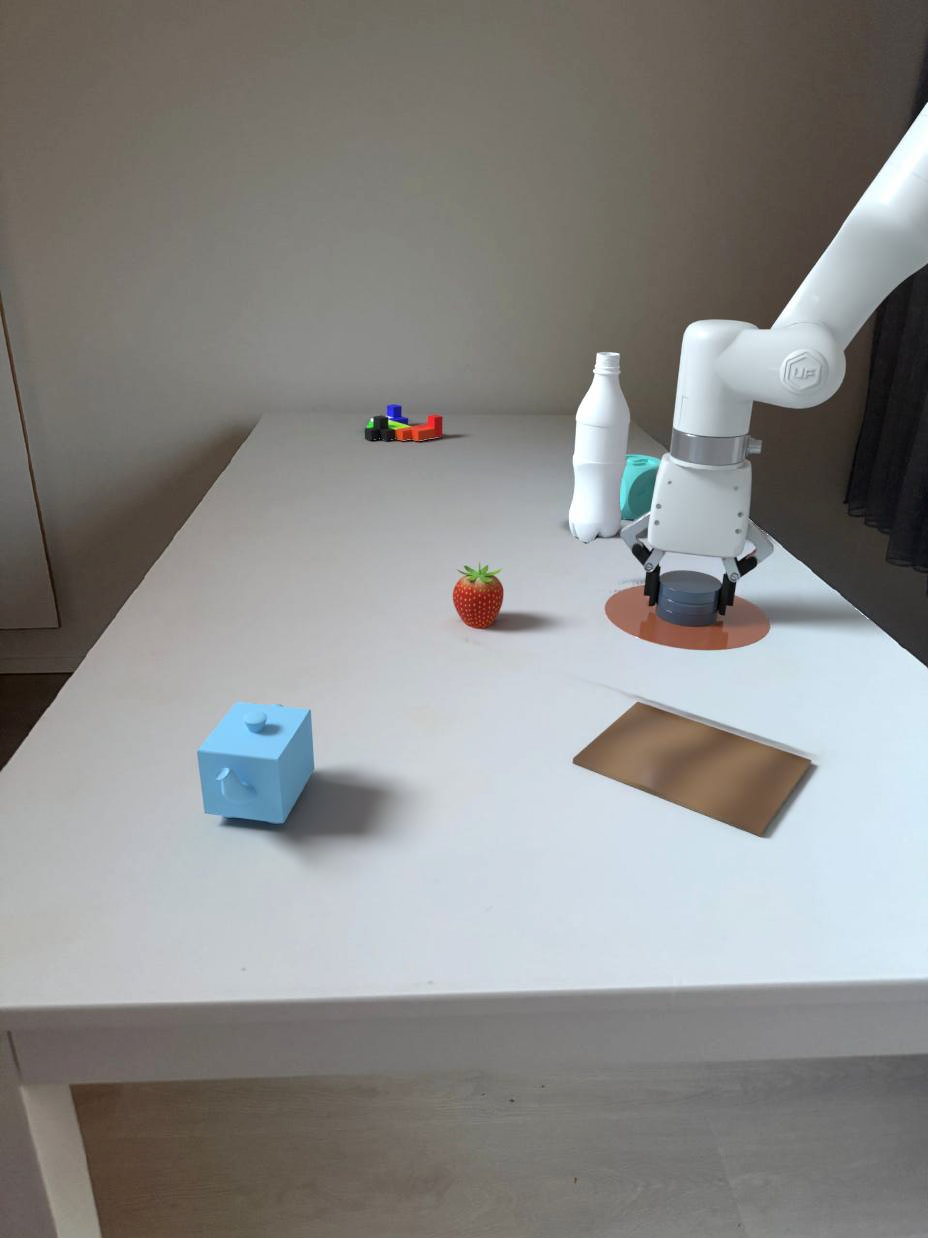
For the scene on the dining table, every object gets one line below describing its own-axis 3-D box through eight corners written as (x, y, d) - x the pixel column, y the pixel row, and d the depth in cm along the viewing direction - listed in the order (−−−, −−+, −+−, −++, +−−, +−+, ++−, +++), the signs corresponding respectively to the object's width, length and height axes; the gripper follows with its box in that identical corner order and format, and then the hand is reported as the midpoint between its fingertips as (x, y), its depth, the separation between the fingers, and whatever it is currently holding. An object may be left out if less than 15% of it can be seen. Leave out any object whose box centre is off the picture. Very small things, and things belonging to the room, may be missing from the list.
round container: (726, 611, 101) (731, 579, 100) (702, 632, 96) (707, 598, 95) (670, 596, 105) (674, 565, 103) (644, 615, 100) (648, 583, 98)
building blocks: (345, 433, 181) (344, 411, 180) (395, 424, 189) (394, 403, 188) (391, 447, 172) (391, 424, 170) (442, 437, 180) (442, 415, 178)
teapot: (267, 863, 63) (259, 773, 60) (185, 853, 64) (173, 763, 61) (320, 768, 74) (316, 687, 71) (250, 760, 75) (242, 680, 72)
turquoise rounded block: (624, 523, 133) (629, 470, 129) (595, 507, 139) (599, 456, 136) (669, 517, 136) (675, 464, 132) (639, 502, 142) (644, 452, 139)
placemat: (810, 765, 76) (811, 759, 75) (761, 837, 67) (762, 832, 67) (636, 705, 84) (637, 701, 84) (572, 763, 75) (572, 758, 75)
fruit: (469, 646, 95) (471, 575, 92) (444, 627, 99) (444, 559, 96) (511, 635, 98) (514, 565, 94) (485, 617, 102) (487, 550, 98)
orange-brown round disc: (791, 618, 103) (793, 608, 102) (732, 677, 90) (734, 666, 89) (646, 580, 112) (647, 571, 112) (574, 629, 99) (575, 619, 99)
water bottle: (590, 526, 131) (604, 348, 121) (629, 539, 127) (648, 354, 116) (556, 536, 127) (568, 352, 116) (596, 550, 122) (612, 359, 112)
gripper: (795, 446, 94) (768, 603, 101) (627, 432, 98) (612, 584, 106) (798, 463, 87) (769, 630, 95) (618, 448, 92) (603, 609, 99)
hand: (687, 605), depth 100 cm, fingers closed on round container, 6 cm apart
